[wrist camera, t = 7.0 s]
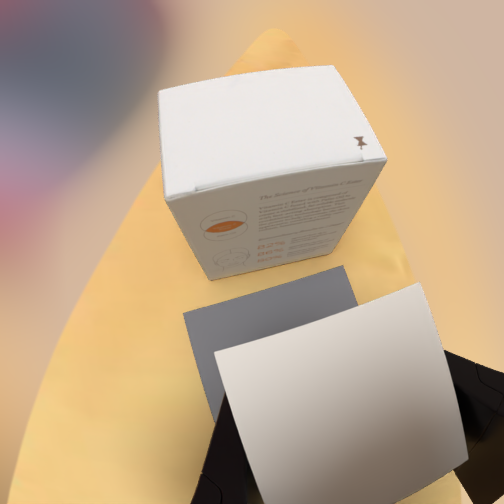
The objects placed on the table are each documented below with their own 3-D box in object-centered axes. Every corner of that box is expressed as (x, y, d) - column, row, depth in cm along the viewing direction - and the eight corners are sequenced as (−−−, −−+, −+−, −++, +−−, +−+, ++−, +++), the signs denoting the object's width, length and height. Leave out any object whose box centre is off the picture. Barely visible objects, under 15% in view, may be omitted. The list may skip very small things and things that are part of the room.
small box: (307, 182, 22) (338, 61, 12) (332, 256, 20) (394, 158, 10) (193, 204, 21) (154, 86, 11) (207, 283, 19) (161, 198, 10)
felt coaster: (396, 441, 16) (400, 443, 15) (243, 496, 15) (242, 499, 14) (340, 268, 20) (342, 265, 19) (185, 314, 19) (183, 313, 18)
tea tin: (358, 416, 15) (468, 459, 5) (266, 448, 14) (281, 544, 5) (330, 329, 17) (419, 281, 7) (237, 359, 16) (213, 352, 7)
